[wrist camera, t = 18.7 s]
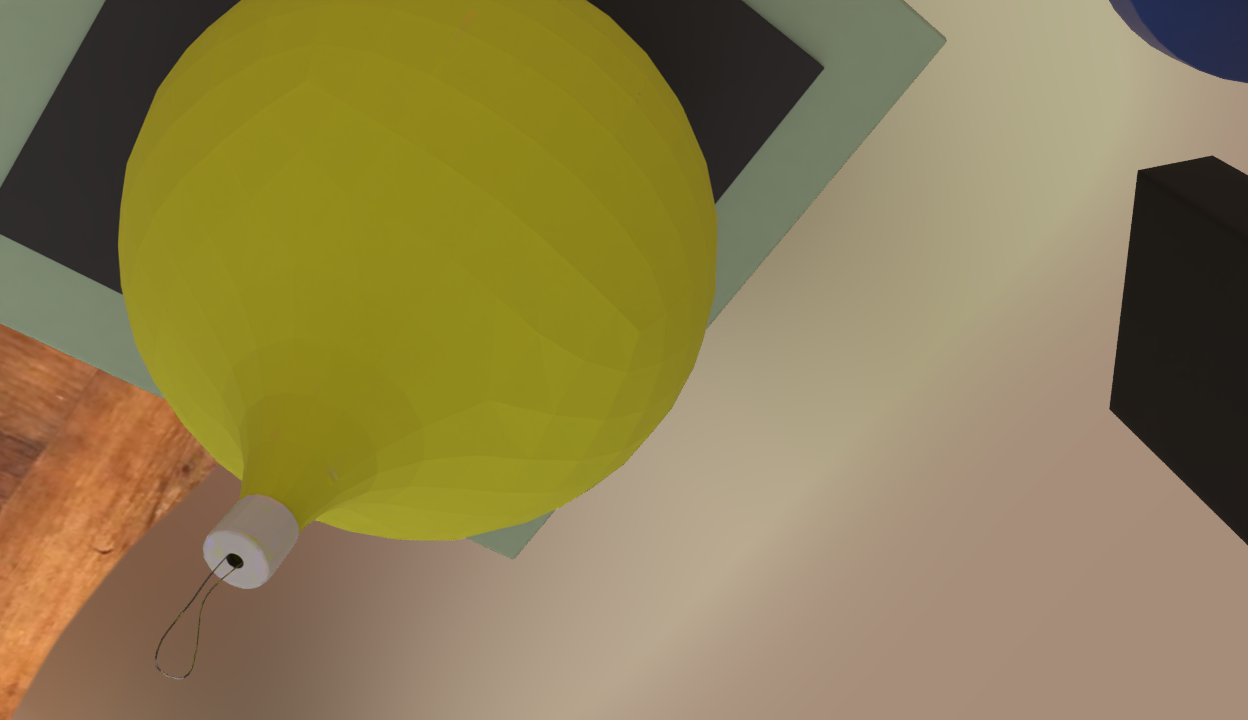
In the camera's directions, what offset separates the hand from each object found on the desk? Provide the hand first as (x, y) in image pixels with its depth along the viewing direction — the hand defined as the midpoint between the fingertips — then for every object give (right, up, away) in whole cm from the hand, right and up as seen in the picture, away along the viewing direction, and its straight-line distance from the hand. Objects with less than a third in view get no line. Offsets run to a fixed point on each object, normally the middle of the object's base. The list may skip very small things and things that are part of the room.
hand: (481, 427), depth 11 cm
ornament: (-2, +4, +7) cm, 8 cm away
